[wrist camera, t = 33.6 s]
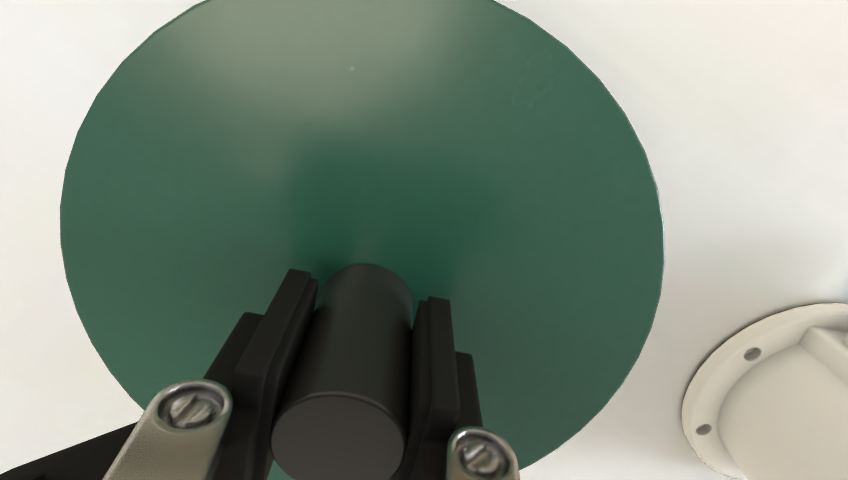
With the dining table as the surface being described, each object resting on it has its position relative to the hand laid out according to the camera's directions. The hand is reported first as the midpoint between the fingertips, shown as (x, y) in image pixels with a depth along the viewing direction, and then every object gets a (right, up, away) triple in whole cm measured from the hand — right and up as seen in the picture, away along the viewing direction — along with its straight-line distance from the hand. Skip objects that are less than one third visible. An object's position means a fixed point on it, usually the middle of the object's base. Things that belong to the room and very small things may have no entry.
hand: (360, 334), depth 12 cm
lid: (0, +1, +2) cm, 2 cm away
